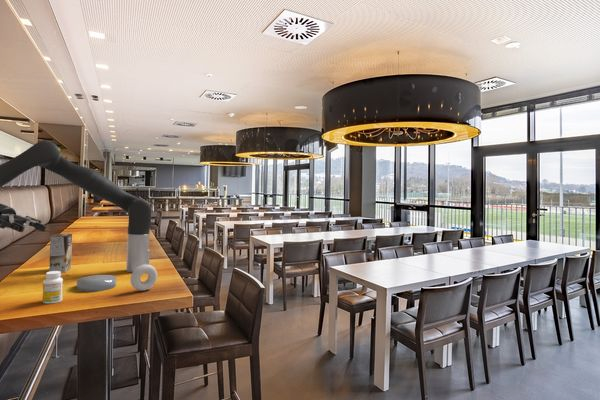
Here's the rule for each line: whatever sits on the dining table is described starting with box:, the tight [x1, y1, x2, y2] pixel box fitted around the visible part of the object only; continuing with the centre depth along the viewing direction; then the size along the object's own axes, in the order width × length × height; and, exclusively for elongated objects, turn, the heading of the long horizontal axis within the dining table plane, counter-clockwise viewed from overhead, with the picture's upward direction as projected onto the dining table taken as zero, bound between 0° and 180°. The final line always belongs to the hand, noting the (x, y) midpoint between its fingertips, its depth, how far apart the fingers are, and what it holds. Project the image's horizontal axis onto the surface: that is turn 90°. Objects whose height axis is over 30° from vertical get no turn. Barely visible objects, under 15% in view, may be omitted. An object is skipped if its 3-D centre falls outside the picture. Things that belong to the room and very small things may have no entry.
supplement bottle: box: [42, 271, 64, 305], centre depth 114 cm, size 5×5×10 cm
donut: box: [129, 264, 158, 292], centre depth 130 cm, size 10×4×10 cm, turn 139°
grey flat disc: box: [76, 274, 117, 293], centre depth 132 cm, size 13×13×3 cm
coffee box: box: [48, 233, 73, 273], centre depth 153 cm, size 9×6×16 cm
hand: (34, 229), depth 117 cm, fingers open, 8 cm apart
